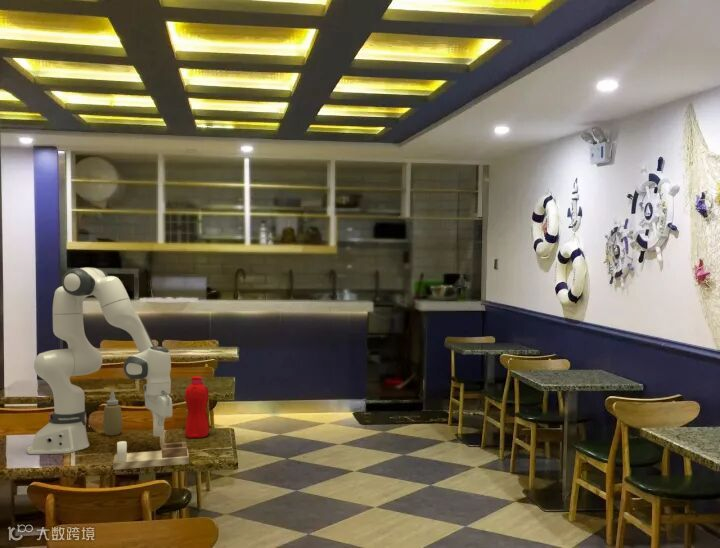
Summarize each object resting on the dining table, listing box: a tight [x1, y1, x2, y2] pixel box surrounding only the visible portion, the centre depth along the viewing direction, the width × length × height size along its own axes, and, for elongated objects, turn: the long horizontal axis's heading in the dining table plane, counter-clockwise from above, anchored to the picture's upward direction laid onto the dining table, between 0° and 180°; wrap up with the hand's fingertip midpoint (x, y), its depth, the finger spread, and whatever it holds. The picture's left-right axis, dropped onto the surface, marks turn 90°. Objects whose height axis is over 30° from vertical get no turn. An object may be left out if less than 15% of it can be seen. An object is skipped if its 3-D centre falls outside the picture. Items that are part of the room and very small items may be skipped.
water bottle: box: [184, 375, 213, 439], centre depth 298 cm, size 9×11×25 cm
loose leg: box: [152, 412, 165, 438], centre depth 274 cm, size 4×4×9 cm
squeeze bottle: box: [102, 391, 124, 437], centre depth 301 cm, size 8×8×18 cm
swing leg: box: [116, 440, 128, 462], centre depth 255 cm, size 9×3×6 cm, turn 15°
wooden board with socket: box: [112, 441, 190, 471], centre depth 259 cm, size 26×12×5 cm, turn 106°
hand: (158, 424), depth 274 cm, fingers closed on loose leg, 4 cm apart
